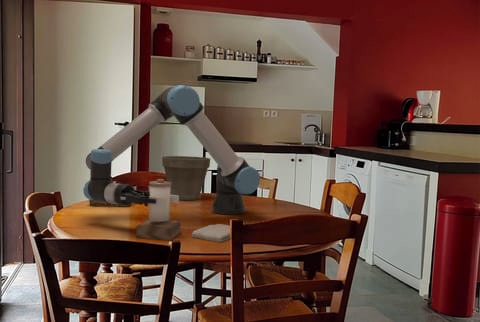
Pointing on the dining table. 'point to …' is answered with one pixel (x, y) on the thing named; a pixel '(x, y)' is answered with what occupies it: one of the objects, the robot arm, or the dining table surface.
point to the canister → (162, 191)
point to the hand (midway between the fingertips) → (171, 201)
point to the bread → (105, 204)
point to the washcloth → (213, 233)
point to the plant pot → (185, 175)
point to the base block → (158, 230)
